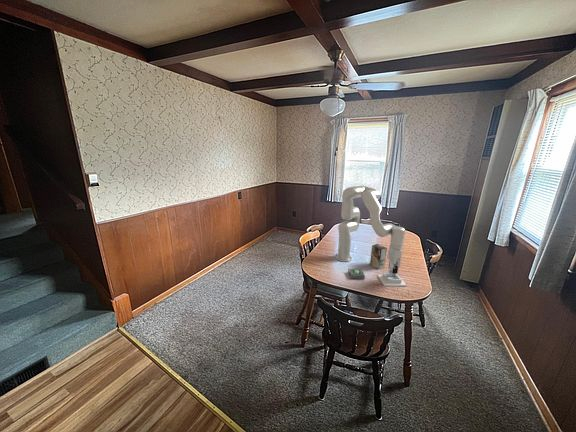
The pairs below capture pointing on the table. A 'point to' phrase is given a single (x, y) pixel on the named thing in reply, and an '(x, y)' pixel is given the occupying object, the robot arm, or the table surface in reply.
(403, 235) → the robot arm
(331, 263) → the table surface
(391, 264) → the cylinder
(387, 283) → the white square tray
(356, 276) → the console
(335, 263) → the table surface
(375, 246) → the coffee box
